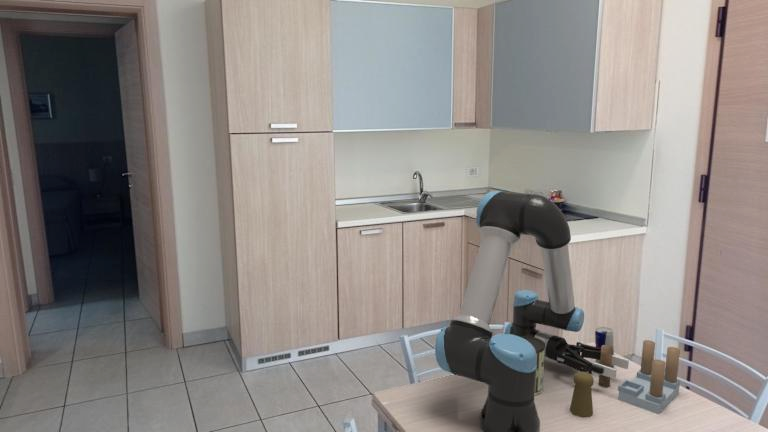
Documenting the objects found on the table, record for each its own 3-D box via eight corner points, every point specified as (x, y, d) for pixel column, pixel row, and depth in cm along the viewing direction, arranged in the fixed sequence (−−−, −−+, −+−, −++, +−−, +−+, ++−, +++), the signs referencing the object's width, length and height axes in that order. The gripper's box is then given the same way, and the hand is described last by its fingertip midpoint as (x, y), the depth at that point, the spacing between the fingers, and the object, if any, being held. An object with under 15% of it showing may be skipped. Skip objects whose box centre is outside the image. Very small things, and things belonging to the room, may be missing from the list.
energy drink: (596, 369, 179) (595, 332, 177) (595, 361, 184) (594, 326, 182) (615, 369, 177) (614, 333, 175) (613, 362, 182) (612, 327, 180)
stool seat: (617, 398, 161) (620, 354, 158) (638, 379, 172) (642, 338, 169) (658, 413, 153) (663, 367, 150) (678, 392, 164) (683, 349, 161)
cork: (594, 418, 151) (597, 380, 148) (571, 415, 152) (573, 378, 150) (591, 406, 156) (594, 369, 154) (568, 404, 158) (570, 367, 155)
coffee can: (505, 378, 173) (507, 334, 170) (540, 380, 172) (542, 336, 169) (508, 394, 163) (510, 349, 160) (545, 397, 162) (548, 350, 159)
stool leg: (596, 384, 169) (599, 347, 166) (601, 381, 171) (604, 343, 169) (607, 388, 166) (610, 350, 164) (611, 384, 169) (614, 347, 166)
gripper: (565, 347, 188) (634, 369, 172) (532, 367, 173) (605, 394, 158) (566, 326, 186) (637, 346, 171) (534, 344, 172) (607, 369, 156)
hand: (621, 369), depth 164 cm, fingers open, 8 cm apart
